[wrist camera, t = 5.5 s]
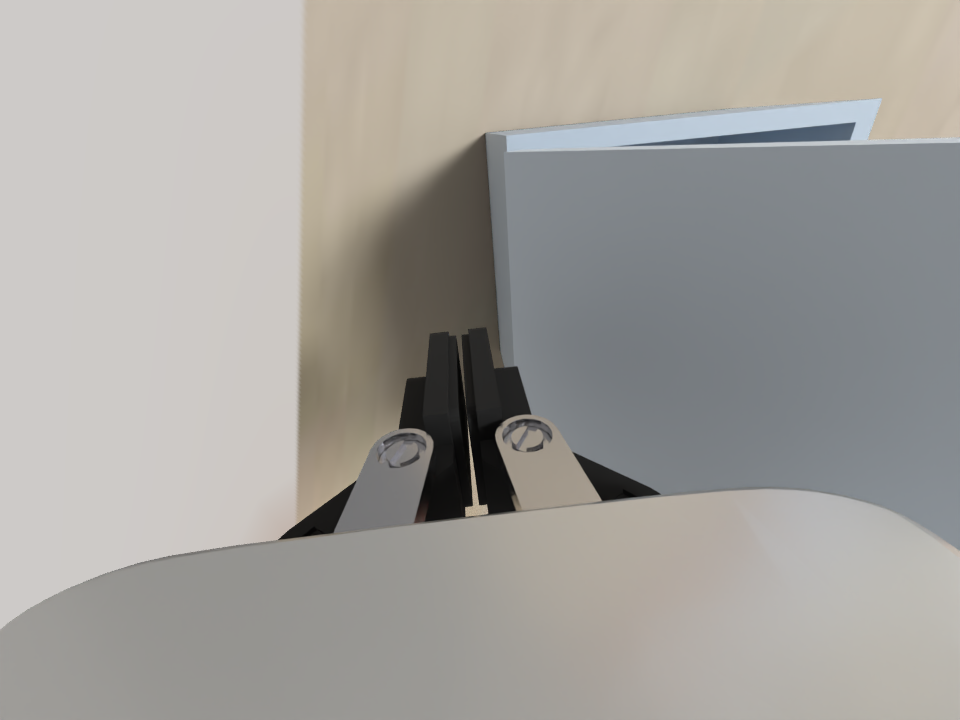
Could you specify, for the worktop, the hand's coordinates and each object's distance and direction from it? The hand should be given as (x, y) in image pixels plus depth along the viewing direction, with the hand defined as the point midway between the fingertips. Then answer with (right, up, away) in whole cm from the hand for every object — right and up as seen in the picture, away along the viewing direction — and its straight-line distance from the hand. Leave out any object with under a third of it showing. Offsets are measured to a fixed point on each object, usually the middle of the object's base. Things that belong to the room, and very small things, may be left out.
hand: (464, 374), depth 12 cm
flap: (+6, 0, -1) cm, 6 cm away
